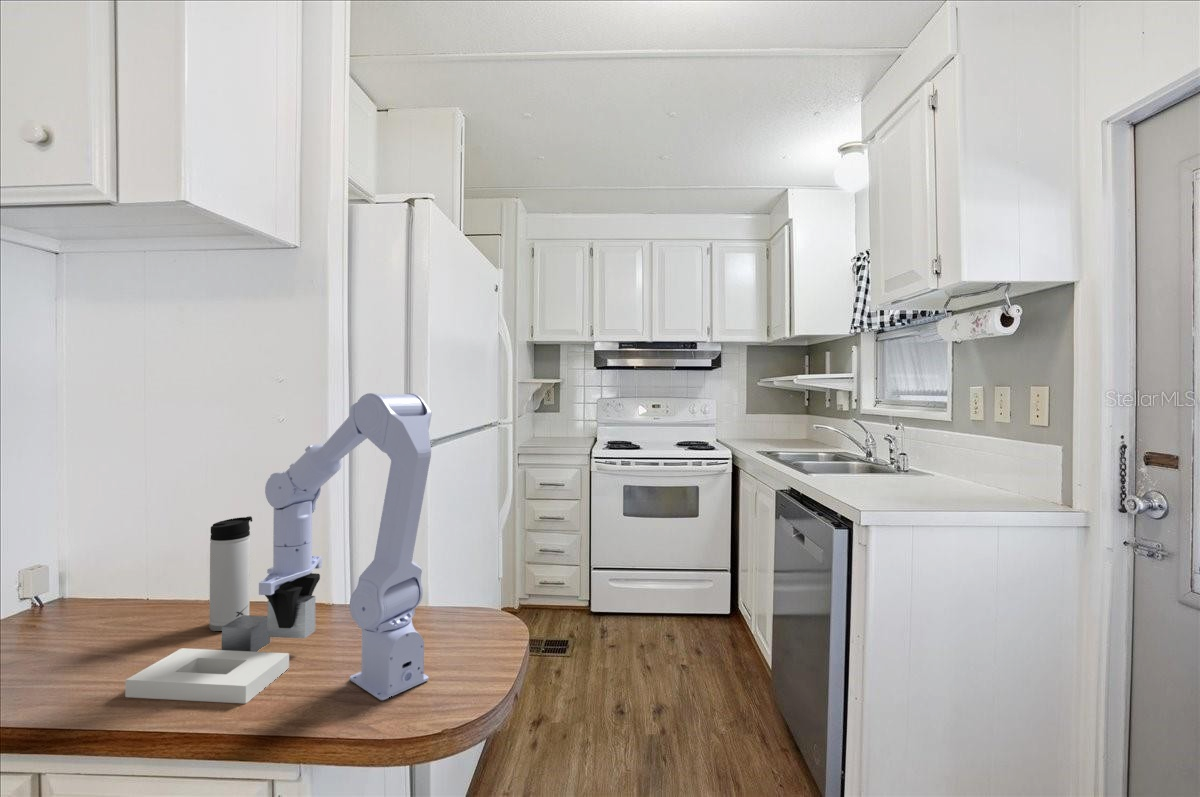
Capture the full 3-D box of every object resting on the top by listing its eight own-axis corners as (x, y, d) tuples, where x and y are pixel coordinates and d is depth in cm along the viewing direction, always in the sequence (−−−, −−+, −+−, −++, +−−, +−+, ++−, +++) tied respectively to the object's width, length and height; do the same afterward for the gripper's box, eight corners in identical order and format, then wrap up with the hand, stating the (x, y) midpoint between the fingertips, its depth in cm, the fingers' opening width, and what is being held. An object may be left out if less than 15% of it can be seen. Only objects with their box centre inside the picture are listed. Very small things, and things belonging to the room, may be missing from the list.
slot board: (289, 669, 90) (289, 653, 90) (245, 703, 80) (245, 686, 80) (181, 663, 91) (181, 648, 91) (125, 697, 81) (125, 679, 81)
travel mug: (250, 627, 105) (251, 520, 105) (207, 635, 102) (208, 524, 101) (252, 615, 110) (253, 513, 110) (211, 622, 107) (212, 517, 107)
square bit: (270, 644, 98) (270, 616, 98) (250, 658, 93) (250, 628, 93) (242, 643, 99) (242, 615, 99) (221, 657, 94) (221, 627, 94)
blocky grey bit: (315, 630, 97) (315, 595, 97) (305, 638, 94) (305, 602, 94) (278, 629, 97) (278, 594, 97) (267, 637, 94) (267, 601, 94)
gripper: (295, 531, 103) (295, 605, 103) (240, 554, 88) (239, 640, 88) (333, 532, 102) (332, 607, 103) (283, 555, 88) (283, 642, 88)
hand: (292, 622), depth 95 cm, fingers closed on blocky grey bit, 3 cm apart
